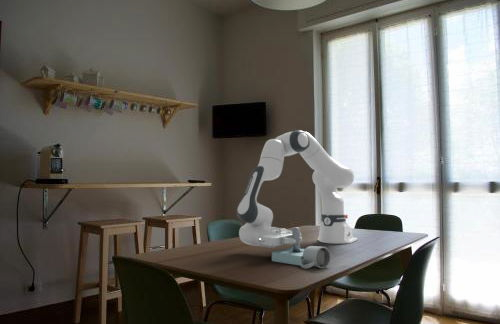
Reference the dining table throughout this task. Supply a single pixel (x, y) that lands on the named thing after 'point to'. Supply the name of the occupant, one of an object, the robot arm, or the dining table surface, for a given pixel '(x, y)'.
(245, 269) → the dining table surface
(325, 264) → the ceramic mug
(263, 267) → the dining table surface
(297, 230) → the pin
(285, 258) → the socket block
